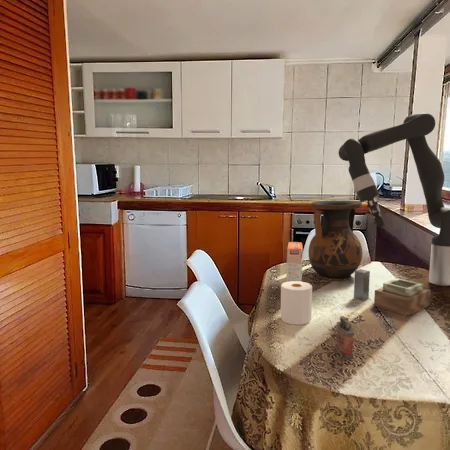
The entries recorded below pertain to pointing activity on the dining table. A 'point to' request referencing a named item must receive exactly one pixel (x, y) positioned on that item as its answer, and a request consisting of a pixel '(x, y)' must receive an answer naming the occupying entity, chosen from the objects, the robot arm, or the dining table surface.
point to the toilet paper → (296, 302)
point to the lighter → (345, 338)
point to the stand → (402, 296)
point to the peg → (361, 284)
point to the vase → (335, 240)
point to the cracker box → (294, 262)
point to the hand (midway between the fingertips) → (381, 226)
